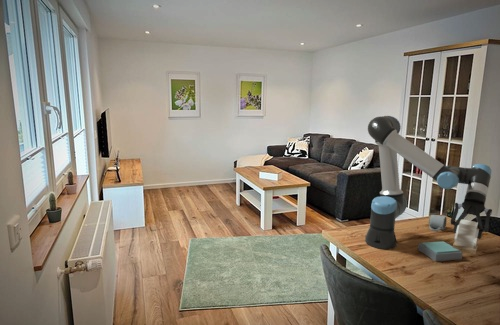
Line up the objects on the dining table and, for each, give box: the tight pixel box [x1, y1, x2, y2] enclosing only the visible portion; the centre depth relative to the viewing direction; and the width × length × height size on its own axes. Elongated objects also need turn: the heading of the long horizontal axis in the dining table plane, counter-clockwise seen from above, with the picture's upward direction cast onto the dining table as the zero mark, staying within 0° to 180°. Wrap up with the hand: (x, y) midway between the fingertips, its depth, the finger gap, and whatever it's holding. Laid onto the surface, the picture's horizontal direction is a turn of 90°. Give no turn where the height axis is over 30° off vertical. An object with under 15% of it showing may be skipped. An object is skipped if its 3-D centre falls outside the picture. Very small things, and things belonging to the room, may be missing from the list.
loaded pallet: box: [452, 218, 479, 254], centre depth 138 cm, size 8×8×11 cm
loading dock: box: [417, 240, 464, 262], centre depth 157 cm, size 14×12×4 cm
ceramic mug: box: [427, 214, 448, 232], centre depth 188 cm, size 11×8×8 cm
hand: (465, 242), depth 135 cm, fingers closed on loaded pallet, 6 cm apart
